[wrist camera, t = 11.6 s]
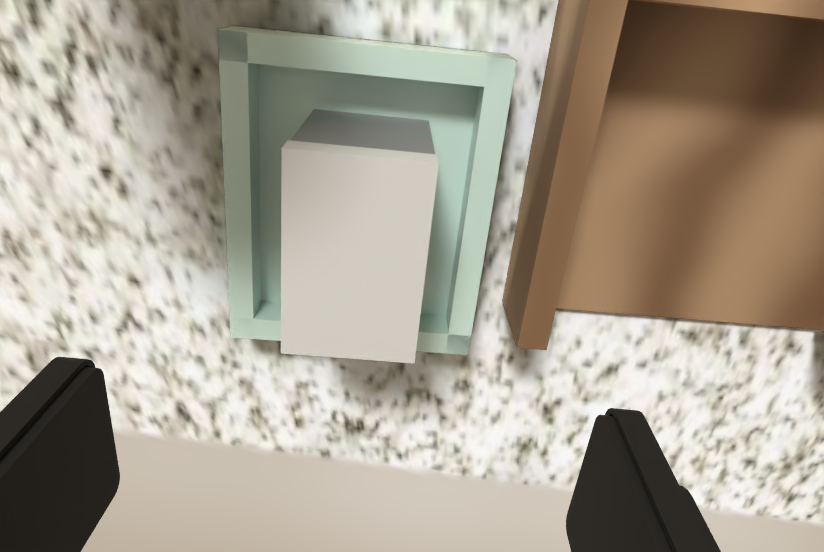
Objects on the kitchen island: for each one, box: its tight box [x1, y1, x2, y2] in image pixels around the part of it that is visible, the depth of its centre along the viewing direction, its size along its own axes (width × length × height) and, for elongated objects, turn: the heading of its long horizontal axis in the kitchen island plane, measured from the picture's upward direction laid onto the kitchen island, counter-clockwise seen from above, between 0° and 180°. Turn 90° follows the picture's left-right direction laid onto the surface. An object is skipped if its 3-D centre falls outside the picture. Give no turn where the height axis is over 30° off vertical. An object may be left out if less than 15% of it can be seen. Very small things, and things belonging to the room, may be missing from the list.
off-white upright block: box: [281, 109, 439, 363], centre depth 22 cm, size 5×7×6 cm, turn 174°
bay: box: [502, 0, 824, 350], centre depth 23 cm, size 16×14×4 cm
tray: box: [218, 26, 517, 355], centre depth 24 cm, size 10×12×2 cm
